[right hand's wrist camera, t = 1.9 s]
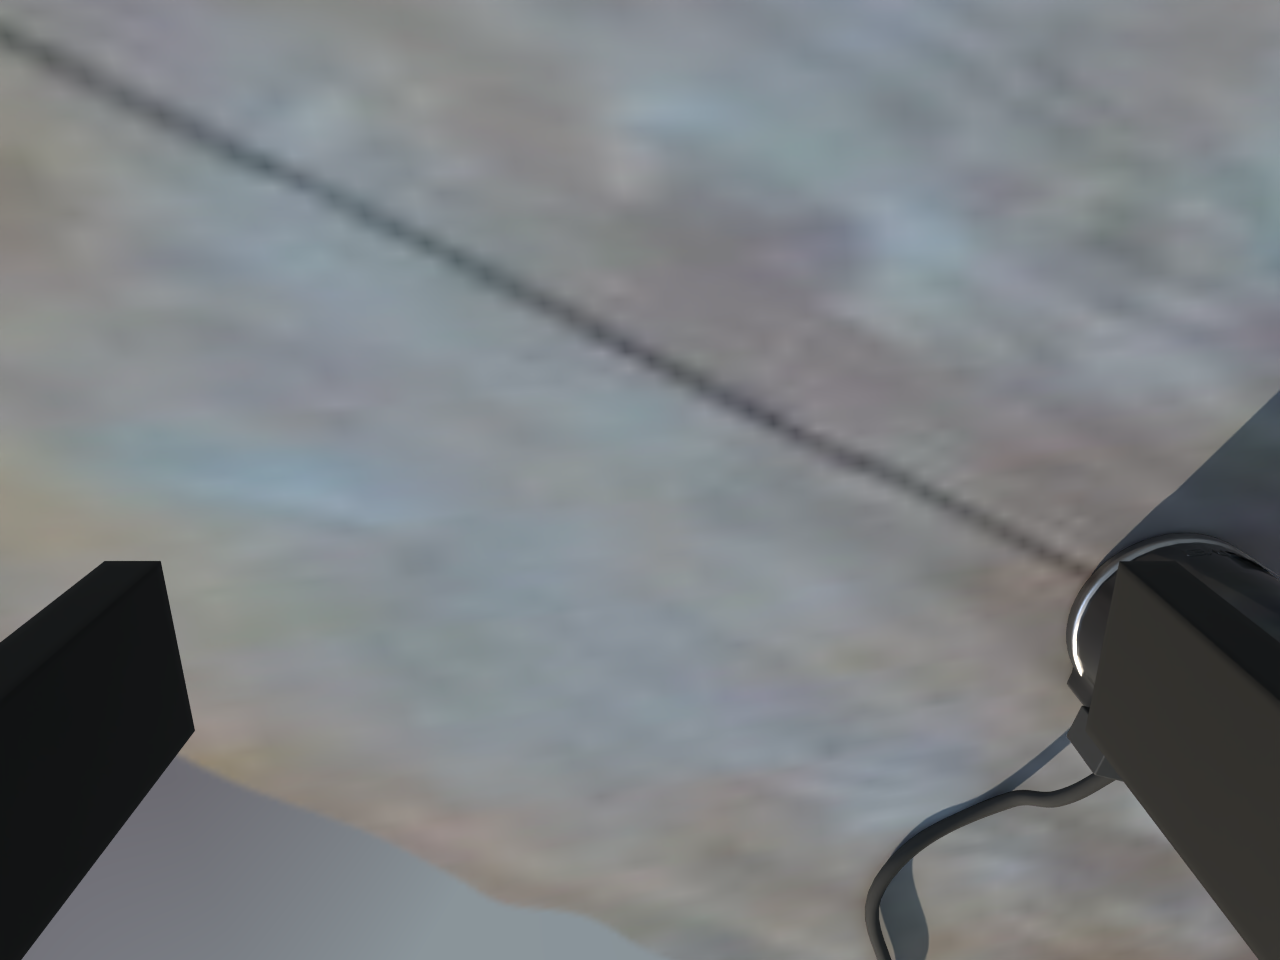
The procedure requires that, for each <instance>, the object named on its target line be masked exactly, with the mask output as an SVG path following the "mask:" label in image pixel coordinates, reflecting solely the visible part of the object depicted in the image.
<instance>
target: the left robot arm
mask: <svg viewBox="0 0 1280 960" xmlns="http://www.w3.org/2000/svg"><path fill="white" fill-rule="evenodd" d="M1253 560H1254V559H1253ZM1253 560H1252V559H1251V557H1248V555H1246V554H1245V553H1243V552H1242V551H1240V550H1239V549H1237V548H1236V547H1234V546H1232V545H1230V544H1229V543H1227V542H1225V541H1222V540H1220V539H1217V538H1214V537H1211V536H1206V535H1202V534H1193V533H1177V534H1168V535H1162V536H1158V537H1153V538H1150V539H1147V540H1144V541H1141V542H1139V543H1136V544H1134V545H1132V546H1130V547H1128V548H1126V549H1124V550H1122V551H1121V552H1119V553H1118V554H1116V555H1114V556H1113V557H1112V558H1110V559H1109V560H1108V561H1106V562H1105V563H1104V564H1103V565H1102V566H1101V567H1099V568H1098V569H1097V570H1096V571H1095V572H1094V573H1093V574H1092V575H1091V577H1090V578H1089V579H1088V580H1087V582H1086V583H1085V584H1084V586H1083V587H1082V589H1081V590H1080V592H1079V593H1078V595H1077V597H1076V599H1075V601H1074V603H1073V606H1072V608H1071V611H1070V614H1069V618H1068V623H1067V630H1066V642H1067V649H1068V653H1069V657H1070V660H1071V662H1072V664H1073V666H1074V667H1073V671H1072V674H1071V676H1070V678H1069V680H1068V682H1067V684H1068V686H1069V688H1070V689H1071V690H1072V691H1073V693H1074V694H1075V695H1076V697H1077V698H1078V699H1079V700H1080V702H1081V703H1082V704H1083V705H1084V706H1082V707H1081V708H1080V710H1079V712H1078V714H1077V716H1076V718H1075V720H1074V722H1073V724H1072V726H1071V728H1070V730H1069V732H1068V734H1067V737H1068V739H1069V740H1070V741H1071V743H1072V744H1073V746H1074V747H1075V748H1076V750H1077V751H1078V753H1079V754H1080V755H1081V757H1082V758H1083V760H1084V761H1085V762H1086V764H1087V765H1088V766H1089V768H1090V769H1091V771H1092V772H1093V773H1092V774H1091V775H1089V776H1088V777H1086V778H1084V779H1082V780H1081V781H1079V782H1077V783H1075V784H1073V785H1071V786H1068V787H1066V788H1063V789H1060V790H1056V791H1052V792H1039V791H1031V790H1016V791H1011V792H1008V793H1005V794H1002V795H999V796H996V797H993V798H991V799H988V800H985V801H983V802H981V803H978V804H976V805H974V806H972V807H969V808H967V809H965V810H963V811H960V812H958V813H956V814H954V815H952V816H950V817H948V818H945V819H943V820H941V821H939V822H937V823H936V824H934V825H932V826H930V827H928V828H926V829H925V830H923V831H921V832H920V833H918V834H917V835H916V836H914V837H913V838H912V839H910V840H909V841H908V842H907V843H905V844H904V845H903V846H902V847H901V848H900V849H899V850H898V851H897V852H896V853H895V854H894V855H893V856H892V857H891V858H890V859H889V860H888V861H887V862H886V864H885V865H884V866H883V867H882V869H881V870H880V871H879V873H878V874H877V876H876V877H875V879H874V881H873V883H872V885H871V887H870V889H869V892H868V896H867V900H866V905H865V921H866V926H867V931H868V934H869V937H870V941H871V944H872V946H873V949H874V952H875V954H876V957H877V960H891V957H890V955H889V952H888V949H887V946H886V944H885V941H884V938H883V935H882V931H881V927H880V922H879V905H880V901H881V898H882V896H883V894H884V892H885V890H886V888H887V886H888V885H889V883H890V882H891V881H892V879H893V878H894V876H895V875H896V874H897V873H898V872H899V871H900V869H901V868H902V867H903V866H904V865H905V864H906V863H907V862H908V861H909V860H910V859H912V858H913V857H914V856H915V855H916V854H917V853H919V852H920V851H921V850H923V849H924V848H925V847H927V846H928V845H930V844H931V843H933V842H934V841H936V840H938V839H939V838H941V837H943V836H945V835H946V834H948V833H950V832H952V831H954V830H956V829H958V828H960V827H962V826H965V825H967V824H969V823H972V822H974V821H977V820H979V819H982V818H984V817H987V816H989V815H992V814H995V813H998V812H1001V811H1003V810H1006V809H1009V808H1012V807H1016V806H1020V805H1032V806H1039V807H1059V806H1064V805H1067V804H1070V803H1073V802H1076V801H1078V800H1081V799H1083V798H1085V797H1087V796H1089V795H1091V794H1093V793H1094V792H1096V791H1098V790H1100V789H1101V788H1103V787H1105V786H1106V785H1108V784H1110V783H1111V782H1113V781H1115V780H1119V781H1123V780H1122V779H1121V777H1120V776H1119V775H1118V773H1117V772H1116V771H1115V769H1114V768H1113V767H1112V765H1111V764H1110V763H1109V762H1108V760H1107V759H1106V758H1105V756H1104V755H1103V754H1102V752H1101V751H1100V750H1099V748H1098V747H1097V746H1096V744H1095V743H1094V742H1093V740H1092V739H1091V738H1090V736H1089V735H1088V734H1087V733H1086V731H1085V729H1086V724H1087V719H1088V714H1089V709H1090V704H1091V699H1092V694H1093V689H1094V684H1095V679H1096V674H1097V669H1098V664H1099V660H1100V655H1101V650H1102V645H1103V640H1104V635H1105V630H1106V625H1107V620H1108V615H1109V610H1110V605H1111V600H1112V595H1113V590H1114V585H1115V580H1116V575H1117V570H1118V565H1119V561H1176V562H1177V563H1178V564H1180V565H1181V566H1182V567H1183V568H1185V569H1186V570H1187V571H1189V572H1190V573H1191V574H1192V575H1194V576H1195V577H1196V578H1198V579H1199V580H1200V581H1201V582H1203V583H1204V584H1205V585H1207V586H1208V587H1209V588H1210V589H1212V590H1213V591H1214V592H1216V593H1217V594H1218V595H1219V596H1221V597H1222V598H1223V599H1224V600H1226V601H1227V602H1228V603H1230V604H1231V605H1232V606H1233V607H1235V608H1236V609H1237V610H1239V611H1240V612H1241V613H1242V614H1244V615H1245V616H1246V617H1248V618H1249V619H1250V620H1251V621H1253V622H1254V623H1255V624H1257V625H1258V626H1259V627H1260V628H1262V629H1263V630H1264V631H1266V632H1267V633H1268V634H1269V635H1271V636H1272V637H1273V638H1274V639H1276V640H1277V641H1278V642H1280V580H1278V579H1277V578H1275V577H1274V576H1272V575H1271V574H1270V573H1269V572H1268V571H1267V570H1265V569H1263V567H1261V566H1260V565H1258V564H1257V563H1256V562H1257V561H1256V562H1255V561H1253ZM1258 563H1259V562H1258ZM1259 564H1260V563H1259ZM1261 565H1262V564H1261ZM1262 566H1263V565H1262ZM1264 567H1265V566H1264ZM1265 568H1266V567H1265ZM1267 569H1268V568H1267ZM1270 571H1271V570H1270ZM1273 573H1274V572H1273ZM1276 575H1277V574H1276ZM1279 577H1280V576H1279ZM1123 782H1124V781H1123Z"/></svg>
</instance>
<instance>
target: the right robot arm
mask: <svg viewBox="0 0 1280 960" xmlns="http://www.w3.org/2000/svg"><path fill="white" fill-rule="evenodd" d="M194 731H195V729H194V724H193V719H192V714H191V709H190V704H189V699H188V694H187V689H186V684H185V679H184V674H183V669H182V664H181V660H180V655H179V650H178V645H177V640H176V635H175V630H174V625H173V620H172V615H171V610H170V605H169V600H168V595H167V590H166V585H165V580H164V575H163V570H162V565H161V561H104V562H103V563H102V564H100V565H99V566H98V567H97V568H95V569H94V570H93V571H91V572H90V573H89V574H88V575H86V576H85V577H84V578H82V579H81V580H80V581H79V582H77V583H76V584H75V585H73V586H72V587H71V588H70V589H68V590H67V591H66V592H64V593H63V594H62V595H61V596H59V597H58V598H57V599H56V600H54V601H53V602H52V603H50V604H49V605H48V606H47V607H45V608H44V609H43V610H41V611H40V612H39V613H38V614H36V615H35V616H34V617H32V618H31V619H30V620H29V621H27V622H26V623H25V624H23V625H22V626H21V627H20V628H18V629H17V630H16V631H14V632H13V633H12V634H11V635H9V636H8V637H7V638H6V639H4V640H3V641H2V642H0V960H21V959H22V958H23V957H24V955H25V954H26V953H27V951H28V950H29V949H30V948H31V946H32V945H33V944H34V942H35V941H36V940H37V938H38V937H39V936H40V934H41V933H42V932H43V930H44V929H45V928H46V926H47V925H48V924H49V922H50V921H51V920H52V918H53V917H54V916H55V914H56V913H57V912H58V911H59V909H60V908H61V907H62V905H63V904H64V903H65V901H66V900H67V899H68V897H69V896H70V895H71V893H72V892H73V891H74V889H75V888H76V887H77V885H78V884H79V883H80V882H81V880H82V879H83V878H84V876H85V875H86V874H87V872H88V871H89V870H90V868H91V867H92V866H93V864H94V863H95V862H96V860H97V859H98V858H99V856H100V855H101V854H102V853H103V851H104V850H105V849H106V847H107V846H108V845H109V843H110V842H111V841H112V839H113V838H114V837H115V835H116V834H117V833H118V831H119V830H120V829H121V827H122V826H123V825H124V824H125V822H126V821H127V820H128V818H129V817H130V816H131V814H132V813H133V812H134V810H135V809H136V808H137V806H138V805H139V804H140V802H141V801H142V800H143V798H144V797H145V796H146V795H147V793H148V792H149V791H150V789H151V788H152V787H153V785H154V784H155V783H156V781H157V780H158V779H159V777H160V776H161V775H162V773H163V772H164V771H165V769H166V768H167V767H168V765H169V764H170V763H171V762H172V760H173V759H174V758H175V756H176V755H177V754H178V752H179V751H180V750H181V748H182V747H183V746H184V744H185V743H186V742H187V740H188V739H189V738H190V736H191V735H192V734H193V733H194ZM1085 731H1086V733H1087V734H1088V735H1089V736H1090V738H1091V739H1092V740H1093V742H1094V743H1095V744H1096V746H1097V747H1098V748H1099V750H1100V751H1101V752H1102V754H1103V755H1104V756H1105V758H1106V759H1107V760H1108V762H1109V763H1110V764H1111V765H1112V767H1113V768H1114V769H1115V771H1116V772H1117V773H1118V775H1119V776H1120V777H1121V779H1122V780H1123V781H1124V783H1125V784H1126V785H1127V787H1128V788H1129V789H1130V791H1131V792H1132V793H1133V795H1134V796H1135V797H1136V798H1137V800H1138V801H1139V802H1140V804H1141V805H1142V806H1143V808H1144V809H1145V810H1146V812H1147V813H1148V814H1149V816H1150V817H1151V818H1152V820H1153V821H1154V822H1155V824H1156V825H1157V826H1158V827H1159V829H1160V830H1161V831H1162V833H1163V834H1164V835H1165V837H1166V838H1167V839H1168V841H1169V842H1170V843H1171V845H1172V846H1173V847H1174V849H1175V850H1176V851H1177V853H1178V854H1179V855H1180V857H1181V858H1182V859H1183V860H1184V862H1185V863H1186V864H1187V866H1188V867H1189V868H1190V870H1191V871H1192V872H1193V874H1194V875H1195V876H1196V878H1197V879H1198V880H1199V882H1200V883H1201V884H1202V886H1203V887H1204V888H1205V889H1206V891H1207V892H1208V893H1209V895H1210V896H1211V897H1212V899H1213V900H1214V901H1215V903H1216V904H1217V905H1218V907H1219V908H1220V909H1221V911H1222V912H1223V913H1224V915H1225V916H1226V917H1227V918H1228V920H1229V921H1230V922H1231V924H1232V925H1233V926H1234V928H1235V929H1236V930H1237V932H1238V933H1239V934H1240V936H1241V937H1242V938H1243V940H1244V941H1245V942H1246V944H1247V945H1248V946H1249V948H1250V949H1251V950H1252V951H1253V953H1254V954H1255V955H1256V957H1257V958H1258V959H1259V960H1280V642H1278V641H1277V640H1276V639H1274V638H1273V637H1272V636H1271V635H1269V634H1268V633H1267V632H1266V631H1264V630H1263V629H1262V628H1260V627H1259V626H1258V625H1257V624H1255V623H1254V622H1253V621H1251V620H1250V619H1249V618H1248V617H1246V616H1245V615H1244V614H1242V613H1241V612H1240V611H1239V610H1237V609H1236V608H1235V607H1233V606H1232V605H1231V604H1230V603H1228V602H1227V601H1226V600H1224V599H1223V598H1222V597H1221V596H1219V595H1218V594H1217V593H1216V592H1214V591H1213V590H1212V589H1210V588H1209V587H1208V586H1207V585H1205V584H1204V583H1203V582H1201V581H1200V580H1199V579H1198V578H1196V577H1195V576H1194V575H1192V574H1191V573H1190V572H1189V571H1187V570H1186V569H1185V568H1183V567H1182V566H1181V565H1180V564H1178V563H1177V562H1176V561H1119V565H1118V570H1117V575H1116V580H1115V585H1114V590H1113V595H1112V600H1111V605H1110V610H1109V615H1108V620H1107V625H1106V630H1105V635H1104V640H1103V645H1102V650H1101V655H1100V660H1099V664H1098V669H1097V674H1096V679H1095V684H1094V689H1093V694H1092V699H1091V704H1090V709H1089V714H1088V719H1087V724H1086V729H1085Z"/></svg>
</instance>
